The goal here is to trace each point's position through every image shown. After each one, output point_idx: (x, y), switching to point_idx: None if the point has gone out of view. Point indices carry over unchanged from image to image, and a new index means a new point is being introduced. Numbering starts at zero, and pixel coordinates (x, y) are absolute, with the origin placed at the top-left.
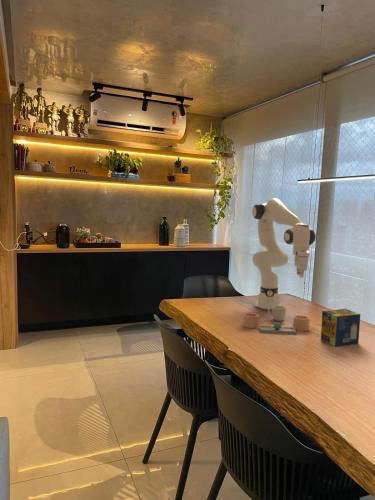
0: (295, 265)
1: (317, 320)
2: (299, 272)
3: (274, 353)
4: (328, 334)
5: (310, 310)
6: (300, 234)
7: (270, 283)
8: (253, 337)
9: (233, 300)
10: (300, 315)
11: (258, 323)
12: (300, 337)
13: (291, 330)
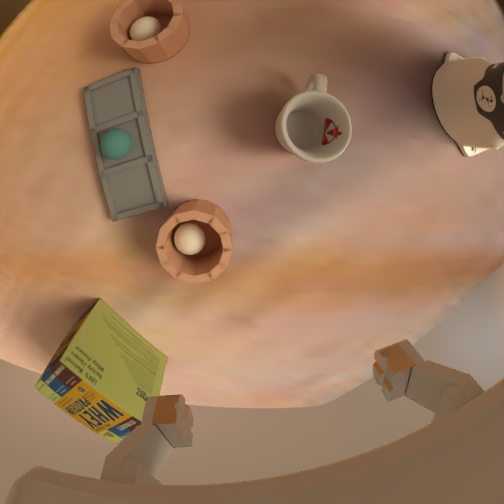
0: (488, 400)
1: (341, 285)
2: (385, 388)
3: None
4: (71, 330)
5: (453, 255)
6: None
7: None
8: (36, 91)
9: (476, 6)
10: (225, 241)
11: (147, 59)
12: (92, 236)
13: (130, 200)
